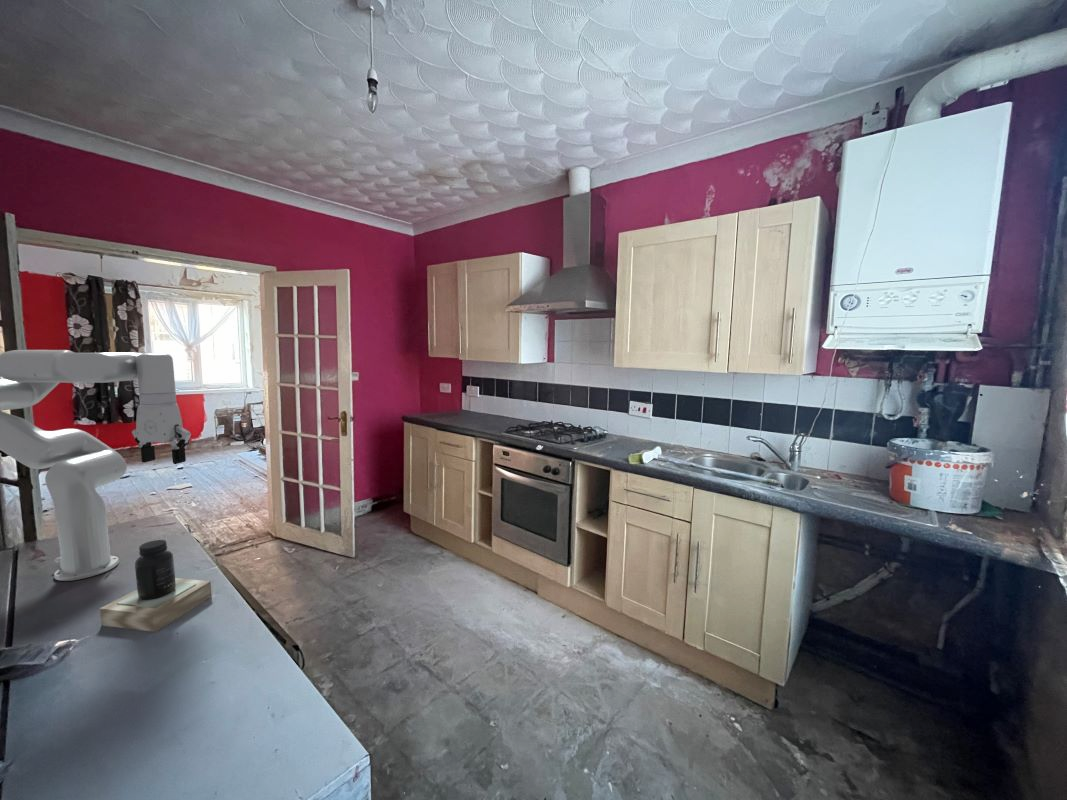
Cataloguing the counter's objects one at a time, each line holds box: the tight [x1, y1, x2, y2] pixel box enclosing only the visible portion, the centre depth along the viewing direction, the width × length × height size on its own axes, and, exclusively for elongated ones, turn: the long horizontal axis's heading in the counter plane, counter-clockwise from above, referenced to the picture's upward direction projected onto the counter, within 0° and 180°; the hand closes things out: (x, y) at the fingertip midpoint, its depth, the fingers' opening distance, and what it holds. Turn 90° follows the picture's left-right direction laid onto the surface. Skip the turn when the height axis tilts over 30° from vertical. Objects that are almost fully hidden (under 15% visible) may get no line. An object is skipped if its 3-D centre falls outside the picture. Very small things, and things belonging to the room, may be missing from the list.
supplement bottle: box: [134, 539, 176, 600], centre depth 103 cm, size 7×7×12 cm
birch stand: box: [99, 577, 213, 633], centre depth 104 cm, size 14×14×4 cm
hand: (164, 462), depth 121 cm, fingers open, 9 cm apart
